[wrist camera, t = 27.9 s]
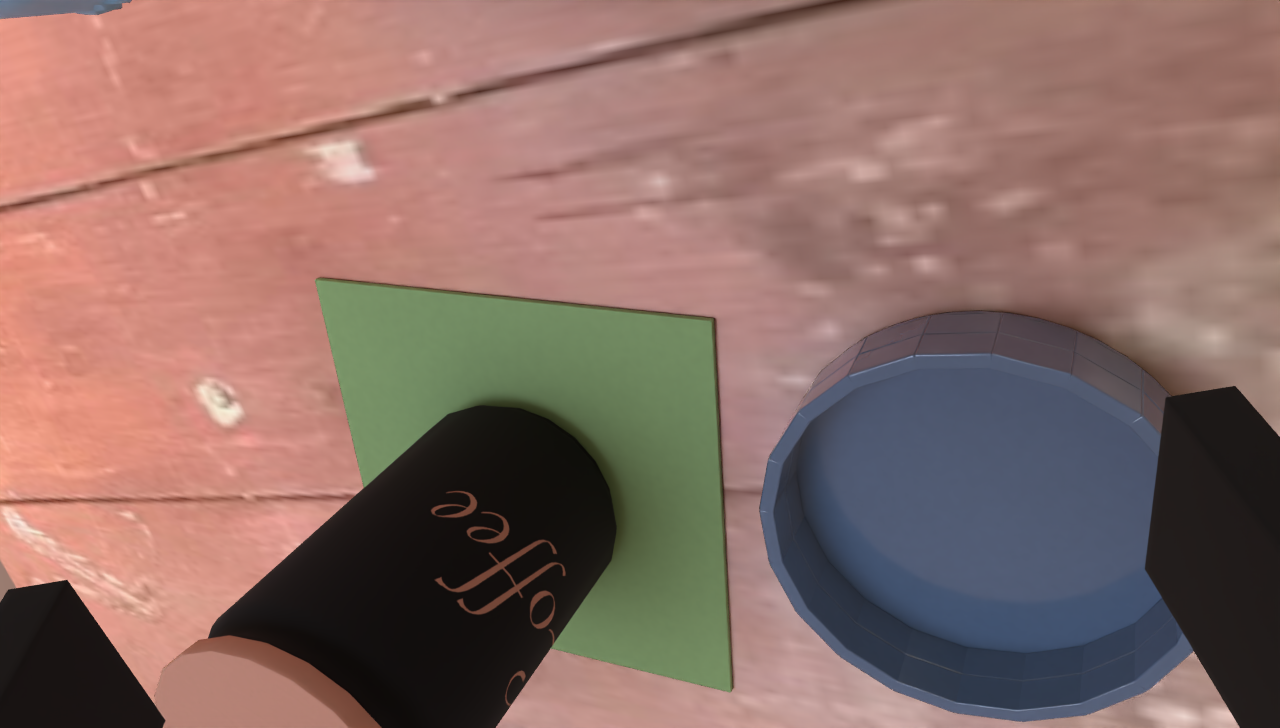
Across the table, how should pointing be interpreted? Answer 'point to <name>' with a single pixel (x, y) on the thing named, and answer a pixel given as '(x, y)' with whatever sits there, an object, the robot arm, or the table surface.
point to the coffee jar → (413, 590)
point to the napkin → (588, 410)
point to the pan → (978, 516)
